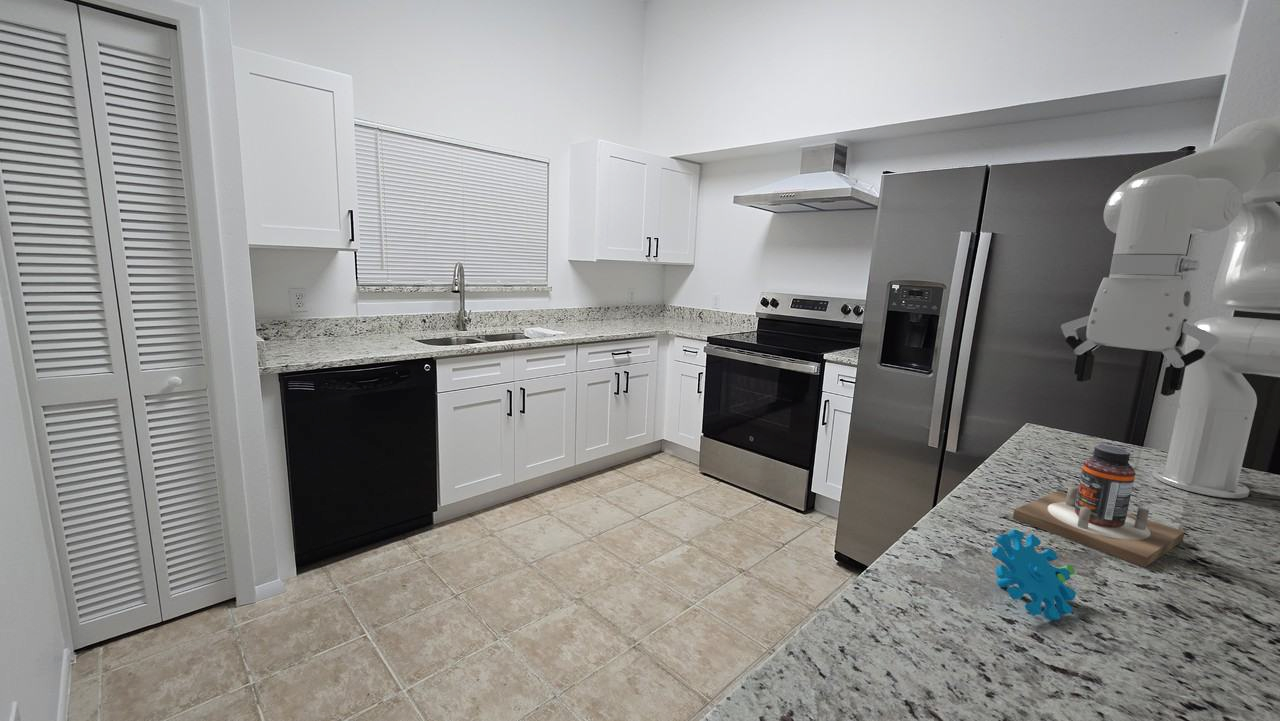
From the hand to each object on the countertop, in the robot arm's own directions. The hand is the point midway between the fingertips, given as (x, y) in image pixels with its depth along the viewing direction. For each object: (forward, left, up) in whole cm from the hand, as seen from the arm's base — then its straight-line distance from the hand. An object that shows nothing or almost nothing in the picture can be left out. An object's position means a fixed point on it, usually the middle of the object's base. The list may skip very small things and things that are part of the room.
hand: (1123, 387), depth 78 cm
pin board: (0, 0, -22) cm, 22 cm away
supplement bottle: (0, 0, -21) cm, 21 cm away
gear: (+30, +4, -23) cm, 38 cm away
